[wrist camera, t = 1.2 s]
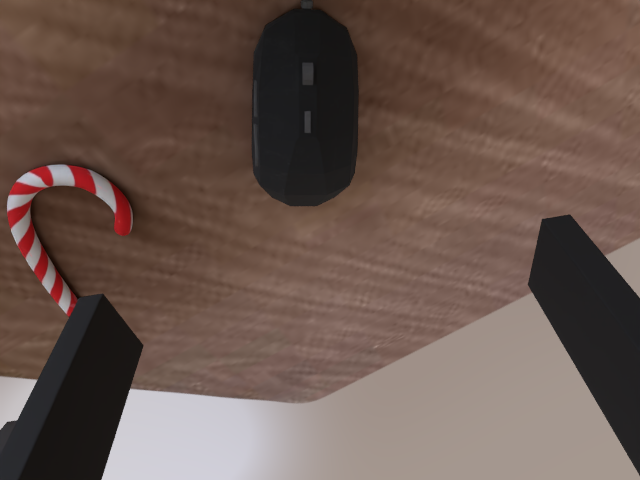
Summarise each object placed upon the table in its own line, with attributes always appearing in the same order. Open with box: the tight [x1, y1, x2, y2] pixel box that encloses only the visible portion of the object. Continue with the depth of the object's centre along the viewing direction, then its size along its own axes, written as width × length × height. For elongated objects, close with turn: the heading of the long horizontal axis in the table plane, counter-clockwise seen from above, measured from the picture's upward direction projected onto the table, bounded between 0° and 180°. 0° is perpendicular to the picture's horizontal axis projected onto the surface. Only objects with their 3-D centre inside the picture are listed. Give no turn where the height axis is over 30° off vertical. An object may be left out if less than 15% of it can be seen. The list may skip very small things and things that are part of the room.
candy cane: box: [7, 165, 133, 317], centre depth 30 cm, size 8×1×15 cm
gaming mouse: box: [252, 0, 359, 206], centre depth 23 cm, size 6×15×4 cm, turn 178°
